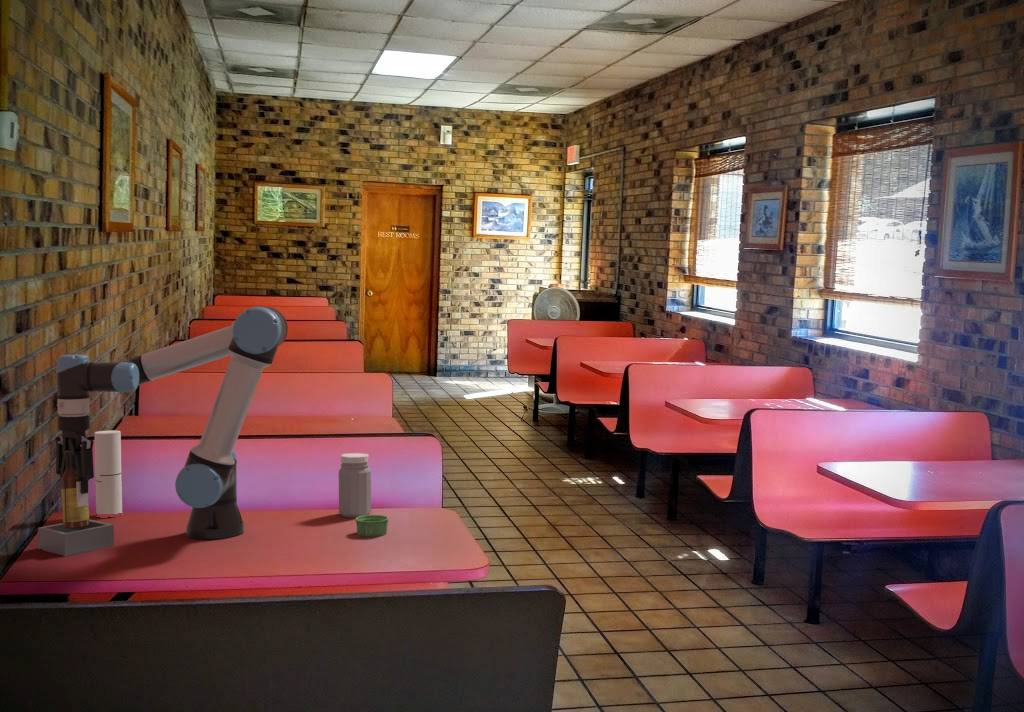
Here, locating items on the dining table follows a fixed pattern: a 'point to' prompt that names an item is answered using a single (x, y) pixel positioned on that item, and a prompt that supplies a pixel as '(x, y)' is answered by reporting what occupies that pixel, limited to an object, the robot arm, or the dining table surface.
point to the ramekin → (372, 525)
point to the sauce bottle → (72, 497)
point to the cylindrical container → (108, 472)
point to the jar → (354, 485)
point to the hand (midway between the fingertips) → (75, 504)
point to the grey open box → (75, 538)
